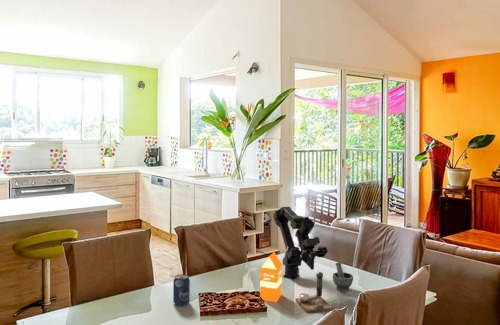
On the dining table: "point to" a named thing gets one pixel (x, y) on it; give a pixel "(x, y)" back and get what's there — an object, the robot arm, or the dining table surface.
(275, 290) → the orange juice
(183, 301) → the soda can
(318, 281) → the lever
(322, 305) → the base
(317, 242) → the robot arm
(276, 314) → the dining table surface
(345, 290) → the mortar and pestle
